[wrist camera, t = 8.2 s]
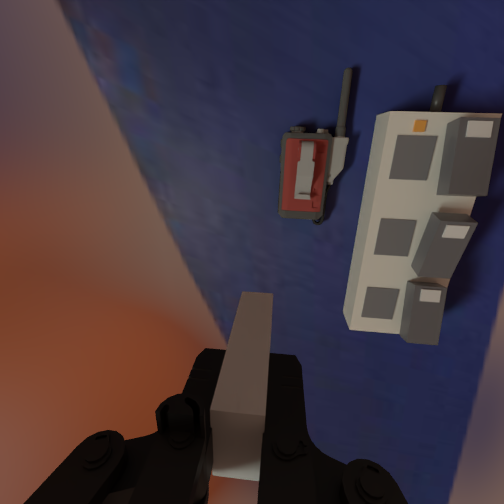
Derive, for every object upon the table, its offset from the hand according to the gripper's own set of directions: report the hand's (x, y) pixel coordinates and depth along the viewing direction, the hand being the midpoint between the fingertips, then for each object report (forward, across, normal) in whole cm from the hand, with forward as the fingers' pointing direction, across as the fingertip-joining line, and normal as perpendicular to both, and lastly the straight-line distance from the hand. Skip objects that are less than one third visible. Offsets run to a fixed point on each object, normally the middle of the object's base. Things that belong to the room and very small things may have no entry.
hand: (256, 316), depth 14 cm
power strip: (+30, +19, -2) cm, 36 cm away
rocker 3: (+24, +21, -13) cm, 35 cm away
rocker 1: (+24, +21, +7) cm, 33 cm away
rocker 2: (+24, +21, -3) cm, 32 cm away
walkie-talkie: (+31, +5, +7) cm, 32 cm away
